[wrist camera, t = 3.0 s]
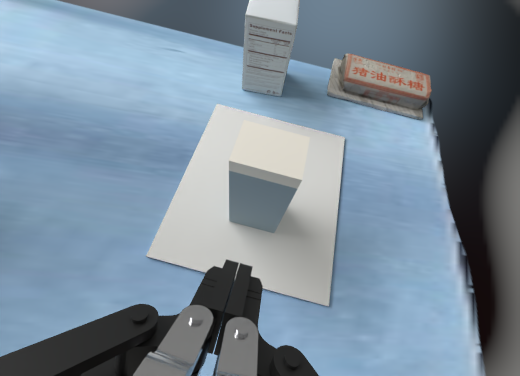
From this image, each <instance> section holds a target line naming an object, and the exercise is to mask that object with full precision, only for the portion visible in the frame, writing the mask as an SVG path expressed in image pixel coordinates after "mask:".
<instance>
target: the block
mask: <svg viewBox="0 0 520 376" xmlns="http://www.w3.org/2000/svg"><path fill="white" fill-rule="evenodd" d="M309 141H310V137H307V136H303V135H300V134H296V133H292V132H288V131H284V130H281V129H277V128H273V127H269V126H265V125H262V124H258V123H254V122H250V121H246V120H244V121H243V124H242V126H241V129H240V132H239V134H238V137H237V140H236V143H235V145H234V148H233V151H232V153H231V156H230V159H229V221H230V222H234V223H237V224H241V225H245V226H248V227H252V228H256V229H260V230H263V231H267V232H271V233H274V232H275V231H276V229H277V227H278V225H279V223H280V221H281V219H282V217H283V215H284V214H285V212H286V210H287V208H288V206H289V204H290V202H291V200H292V199H293V197H294V195H295V193H296V191H297V189H298V187H299V185H300V183H301V182H302V179H303V173H304V168H305V163H306V157H307V152H308V146H309Z"/></svg>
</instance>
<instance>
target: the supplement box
mask: <svg viewBox="0 0 520 376" xmlns="http://www.w3.org/2000/svg"><path fill="white" fill-rule="evenodd" d="M299 2H300V0H249V4H248V8H247V11H246V15H245V16H246V17H245V36H244V54H243V77H242V89H243V90H247V91H252V92H257V93H263V94H268V95H274V96H281V95H282V90H283V86H284V81H285V77H286V73H287V68H288V64H289V60H290V55H291V51H292V47H293V43H294V38H295V33H296V29H297V22H298V12H299Z"/></svg>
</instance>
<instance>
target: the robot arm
mask: <svg viewBox="0 0 520 376" xmlns="http://www.w3.org/2000/svg"><path fill="white" fill-rule="evenodd" d="M238 265H239V263H238V262H234V261H231V260H227V259H226V261H225V263H224V266H223V268H220V267H216V266H213V267H212V268H210V269H209V270H207V272H206V274H205V276H204V279H203V280H202V282H201V284H200V286H199V288H198V290H197V292H196V294H195V296H194V298H193V300H192V302H191V304H190V305H189V306H188V307H186V308H185V309H183V310H182V312H181V313H180V314H177V315H173V316H158V312H157V310H156V309H155V308H154V307H152V306H150V305H147V304H138V305H134V306H131V307H128V308H126V309H123V310H121V311H118V312H115V313H113V314H110V315H108V316H105V317H103V318H100V319H97V320H95V321H92V322H90V323H87V324H84V325H82V326H79V327H77V328H74V329H72V330H69V331H66V332H64V333H61V334H59V335H56V336H53V337H51V338H48V339H46V340H43V341H40V342H38V343H35V344H33V345H30V346H28V347H25V348H22V349H20V350H17V351H15V352H12V353H9V354H7V355H4V356H2V357H0V376H199V374H200V371H201V368H202V366H203V364H204V362H205V359H206V356H207V353H211V354H212V353H213V350H214V347H215V344H216V340H217V337H218V340H217V344H216V348H215V352H214V354H215V355H218V357H217V361H216V364H215V368H214V372H213V376H319V375H318V374H317V373H316V371H315V370H314V369H313V367H312V366H311V364H310V363H309V362H308V360H307V359H306V358H305V356H304V355H303V354H302V353H301V352H300V351H299V350H298V349H296V348H294V347H292V346H287V345H284V346H280V347H279V348H277V349H276V348H274V347H273V346H271V345H269V344H268V343H267V342H266V341H264V339H263V338H262V337H261V335H260V334H259V331H258V318H259V310H260V303H261V294H262V288H263V286H262V283H261V281H260V279H259V278H256V277H252V276H251V272H252V268H253V266H249V265H245V264H242V263H240V265H239V268H238ZM237 269H238V271H237ZM236 272H237V274H236ZM235 276H236V278H235ZM234 280H235V281H234ZM221 324H222V325H221ZM220 327H221V329H220ZM219 331H220V333H219ZM218 334H219V336H218Z"/></svg>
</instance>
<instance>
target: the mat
mask: <svg viewBox="0 0 520 376" xmlns="http://www.w3.org/2000/svg"><path fill="white" fill-rule="evenodd" d="M244 120H246V121H250V122H254V123H258V124H262V125H265V126H269V127H273V128H277V129H281V130H284V131H288V132H292V133H296V134H300V135H303V136H307V137H310V141H309V146H308V152H307V157H306V163H305V168H304V173H303V179H302V182H301V183H300V185H299V187H298V189H297V191H296V193H295V195H294V197H293V199H292V200H291V202H290V204H289V206H288V208H287V210H286V212H285V214H284V215H283V217H282V219H281V221H280V223H279V225H278V227H277V229H276V231H275V232H274V233H271V232H267V231H263V230H260V229H256V228H252V227H248V226H245V225H241V224H237V223H234V222H230V221H229V159H230V156H231V153H232V151H233V148H234V145H235V143H236V140H237V137H238V134H239V132H240V129H241V126H242V124H243V121H244ZM344 140H345V137H341V136H338V135H334V134H330V133H326V132H322V131H318V130H315V129H311V128H307V127H303V126H299V125H296V124H292V123H288V122H284V121H280V120H277V119H273V118H269V117H265V116H261V115H258V114H254V113H250V112H246V111H242V110H239V109H235V108H231V107H227V106H223V105H220V104H217V105H216V107H215V109H214V111H213V114H212V116H211V118H210V120H209V122H208V124H207V127H206V129H205V131H204V133H203V135H202V137H201V139H200V142H199V144H198V146H197V148H196V150H195V152H194V154H193V157H192V159H191V161H190V163H189V165H188V167H187V169H186V172H185V174H184V176H183V178H182V180H181V182H180V184H179V187H178V189H177V191H176V193H175V195H174V197H173V200H172V202H171V204H170V206H169V208H168V210H167V212H166V215H165V217H164V219H163V221H162V223H161V225H160V227H159V230H158V232H157V234H156V236H155V238H154V240H153V242H152V245H151V247H150V249H149V251H148V253H147V255H146V256H147V257H150V258H153V259H157V260H160V261H164V262H168V263H171V264H175V265H179V266H182V267H186V268H190V269H193V270H197V271H200V272H204V273H206V272H207V270H209V269H210V268H212V267H213V266H216V267H220V268H223V266H224V263H225V261H226V259H227V260H231V261H234V262H238V263H239V265H240V263H242V264H245V265H249V266H253V268H252V272H251V276H252V277H256V278H259V279H260V281H261V283H262V286H263V288H262V289H266V290H270V291H273V292H277V293H281V294H284V295H288V296H291V297H295V298H299V299H302V300H306V301H310V302H313V303H317V304H321V305H324V306H329V299H330V288H331V278H332V267H333V257H334V246H335V235H336V225H337V214H338V204H339V193H340V182H341V172H342V161H343V151H344ZM239 265H238V268H239ZM237 271H238V269H237ZM236 274H237V272H236ZM235 278H236V276H235ZM234 281H235V280H234Z"/></svg>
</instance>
